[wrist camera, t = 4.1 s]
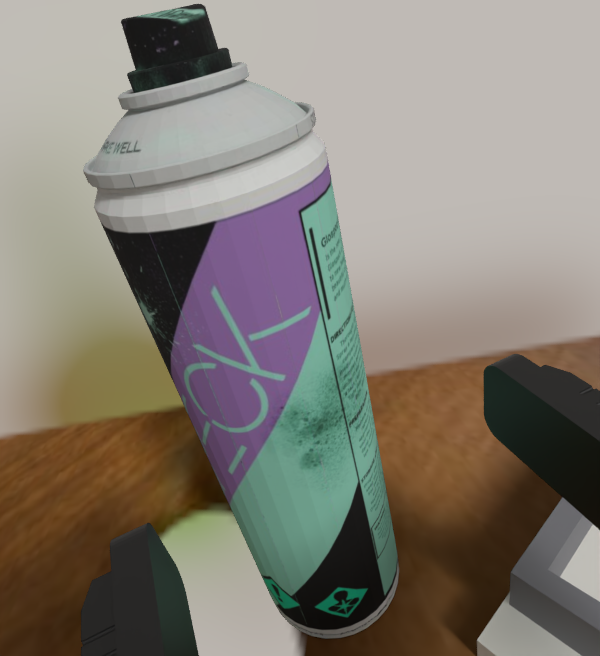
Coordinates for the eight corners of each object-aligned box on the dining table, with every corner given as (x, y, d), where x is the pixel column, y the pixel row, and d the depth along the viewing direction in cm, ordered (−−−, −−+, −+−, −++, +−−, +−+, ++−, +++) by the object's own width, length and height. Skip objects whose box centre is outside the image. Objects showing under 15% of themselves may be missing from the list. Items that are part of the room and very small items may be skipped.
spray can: (284, 510, 23) (110, 30, 13) (400, 513, 22) (315, -26, 11) (255, 632, 19) (-49, 54, 8) (398, 646, 17) (254, -32, 7)
